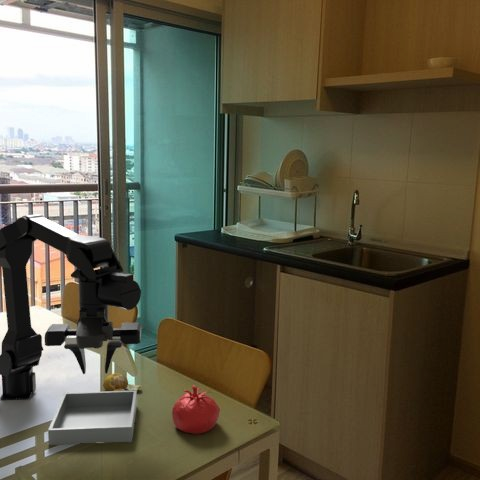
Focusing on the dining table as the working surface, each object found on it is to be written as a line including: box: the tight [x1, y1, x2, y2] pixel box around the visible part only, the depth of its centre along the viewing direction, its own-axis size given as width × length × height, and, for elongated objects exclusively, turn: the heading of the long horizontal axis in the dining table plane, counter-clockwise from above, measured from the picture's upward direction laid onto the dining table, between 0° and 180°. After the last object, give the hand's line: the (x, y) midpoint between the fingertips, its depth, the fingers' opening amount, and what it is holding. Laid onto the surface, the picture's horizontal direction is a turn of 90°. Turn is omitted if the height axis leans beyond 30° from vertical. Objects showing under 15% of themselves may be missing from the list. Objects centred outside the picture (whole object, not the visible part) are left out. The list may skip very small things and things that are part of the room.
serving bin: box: [47, 390, 138, 446], centre depth 114 cm, size 16×16×4 cm
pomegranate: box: [171, 384, 221, 435], centre depth 114 cm, size 10×10×9 cm
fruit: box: [102, 372, 142, 391], centre depth 130 cm, size 8×8×4 cm
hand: (95, 373), depth 112 cm, fingers open, 4 cm apart
